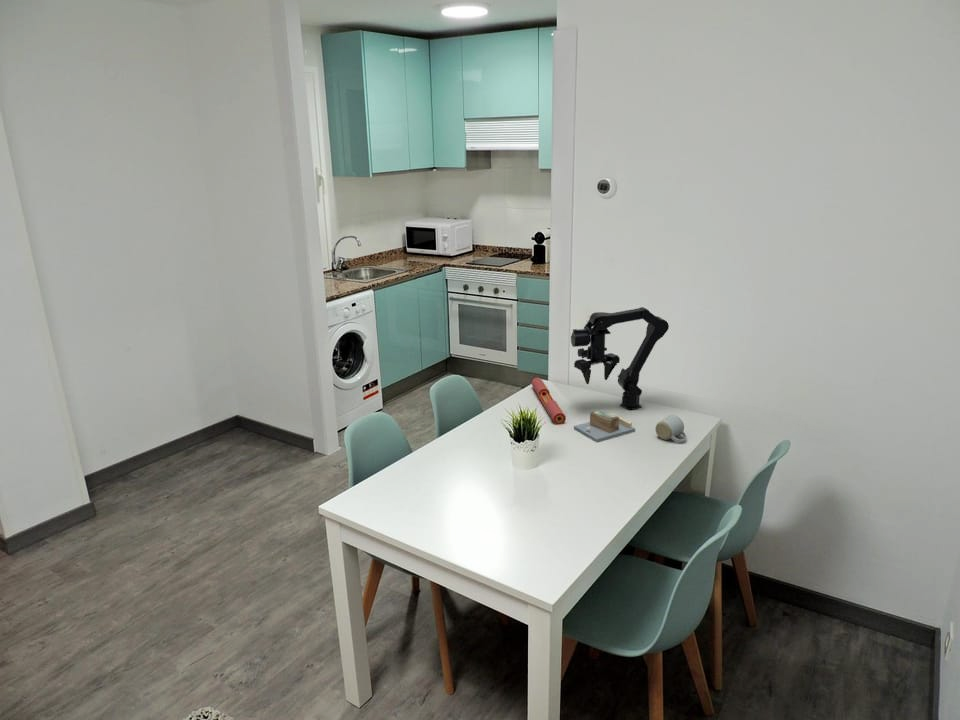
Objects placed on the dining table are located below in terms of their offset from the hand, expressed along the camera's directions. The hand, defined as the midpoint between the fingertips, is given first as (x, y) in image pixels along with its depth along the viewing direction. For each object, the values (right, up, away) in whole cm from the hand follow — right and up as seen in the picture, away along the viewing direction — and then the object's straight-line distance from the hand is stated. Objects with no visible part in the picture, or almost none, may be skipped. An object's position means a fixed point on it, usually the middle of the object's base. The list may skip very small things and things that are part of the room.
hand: (596, 381), depth 265 cm
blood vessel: (-19, -10, +11) cm, 24 cm away
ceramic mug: (+23, -20, -24) cm, 39 cm away
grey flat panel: (0, -18, -16) cm, 24 cm away
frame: (0, -17, -16) cm, 23 cm away
